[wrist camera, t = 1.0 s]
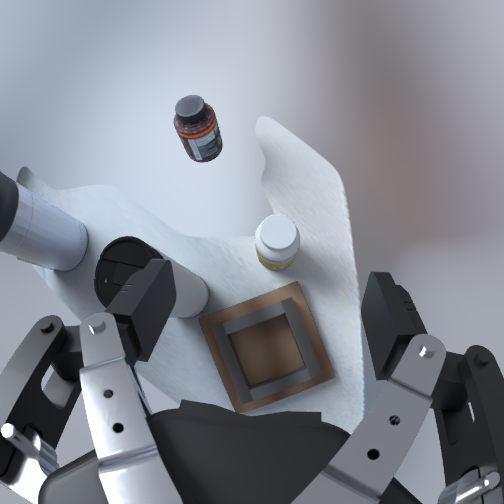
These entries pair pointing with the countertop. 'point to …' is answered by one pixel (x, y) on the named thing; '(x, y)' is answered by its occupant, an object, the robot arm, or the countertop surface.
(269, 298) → the square tray with rim
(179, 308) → the travel mug
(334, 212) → the countertop surface
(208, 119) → the supplement bottle
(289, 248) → the supplement bottle
